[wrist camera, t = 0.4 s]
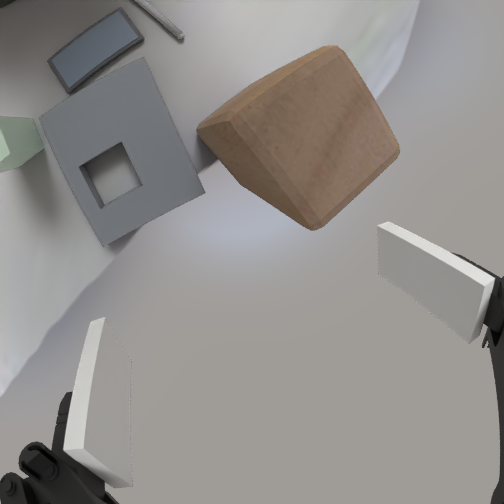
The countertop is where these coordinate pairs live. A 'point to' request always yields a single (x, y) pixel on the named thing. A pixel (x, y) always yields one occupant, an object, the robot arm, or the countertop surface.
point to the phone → (94, 49)
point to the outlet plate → (134, 141)
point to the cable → (160, 18)
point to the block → (304, 137)
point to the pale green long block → (17, 142)
